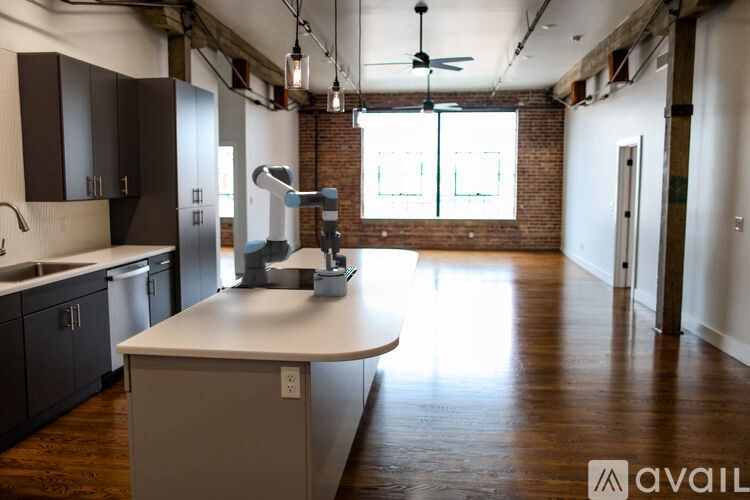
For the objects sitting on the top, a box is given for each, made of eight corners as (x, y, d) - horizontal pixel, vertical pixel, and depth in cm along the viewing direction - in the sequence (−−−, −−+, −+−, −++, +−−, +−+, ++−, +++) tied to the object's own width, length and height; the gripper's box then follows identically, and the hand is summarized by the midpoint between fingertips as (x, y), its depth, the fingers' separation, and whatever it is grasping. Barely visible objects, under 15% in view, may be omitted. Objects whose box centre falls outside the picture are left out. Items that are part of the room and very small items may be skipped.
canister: (347, 285, 326) (347, 252, 323) (345, 289, 316) (345, 255, 314) (330, 285, 327) (330, 252, 324) (327, 288, 317) (326, 254, 315)
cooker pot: (303, 295, 299) (303, 275, 298) (333, 289, 316) (333, 270, 315) (326, 299, 289) (326, 278, 288) (357, 292, 306) (357, 273, 305)
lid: (309, 274, 301) (308, 253, 299) (329, 271, 312) (329, 251, 311) (330, 278, 291) (330, 256, 290) (351, 274, 303) (351, 253, 301)
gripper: (313, 219, 300) (313, 265, 303) (336, 220, 290) (337, 269, 293) (323, 218, 306) (323, 264, 309) (347, 219, 296) (347, 267, 299)
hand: (330, 266), depth 301 cm, fingers closed on lid, 3 cm apart
